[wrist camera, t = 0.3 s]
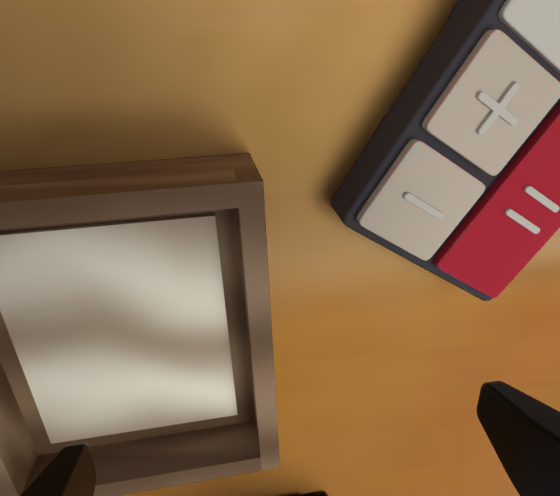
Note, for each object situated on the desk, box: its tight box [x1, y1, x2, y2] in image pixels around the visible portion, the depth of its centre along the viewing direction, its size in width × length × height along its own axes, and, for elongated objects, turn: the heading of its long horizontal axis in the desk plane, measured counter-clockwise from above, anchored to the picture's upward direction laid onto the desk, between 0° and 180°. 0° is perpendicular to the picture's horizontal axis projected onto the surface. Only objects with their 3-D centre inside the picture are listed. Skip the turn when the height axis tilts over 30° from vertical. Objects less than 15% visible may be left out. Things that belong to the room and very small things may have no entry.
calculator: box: [331, 0, 560, 301], centre depth 21 cm, size 11×4×15 cm
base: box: [0, 153, 280, 496], centre depth 21 cm, size 16×14×6 cm
